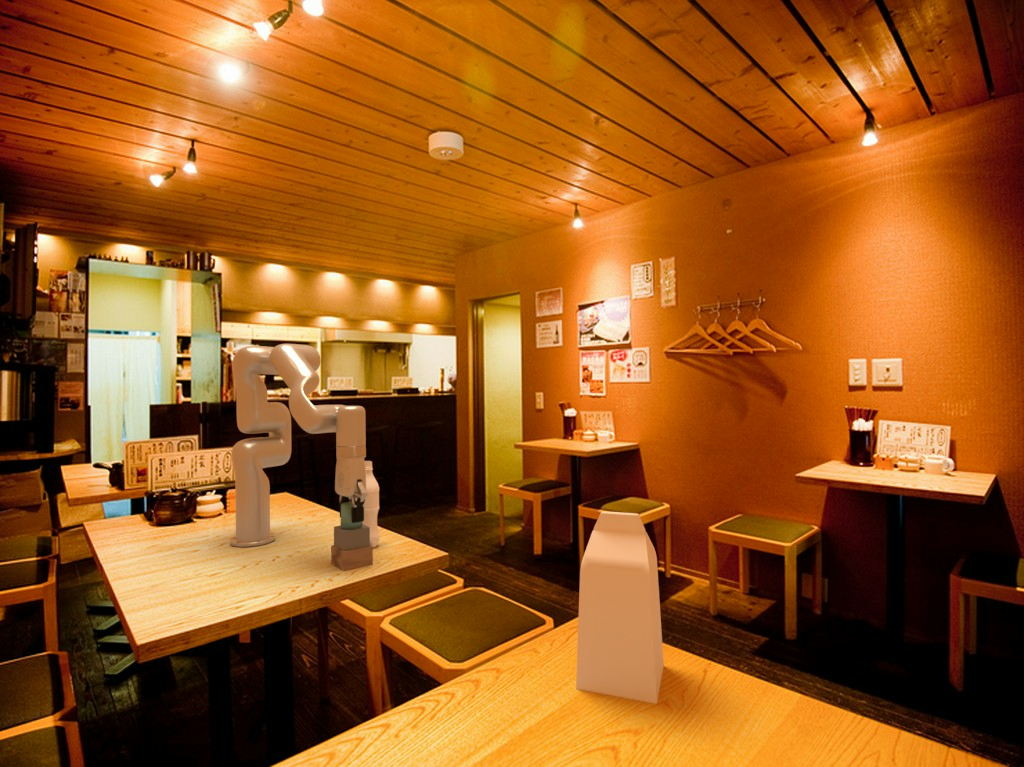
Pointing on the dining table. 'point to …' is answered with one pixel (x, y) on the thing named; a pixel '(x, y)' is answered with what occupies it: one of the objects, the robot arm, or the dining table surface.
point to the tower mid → (351, 538)
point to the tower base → (351, 558)
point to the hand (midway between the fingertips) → (351, 518)
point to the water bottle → (371, 504)
